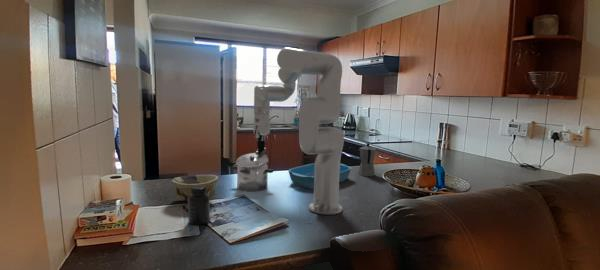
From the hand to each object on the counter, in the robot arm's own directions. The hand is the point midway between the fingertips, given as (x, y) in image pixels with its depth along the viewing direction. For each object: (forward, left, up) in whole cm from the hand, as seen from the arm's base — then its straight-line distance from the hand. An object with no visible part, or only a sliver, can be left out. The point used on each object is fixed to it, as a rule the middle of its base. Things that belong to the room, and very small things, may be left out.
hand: (261, 148), depth 160 cm
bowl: (-37, +12, -17) cm, 42 cm away
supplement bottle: (-55, -2, -17) cm, 57 cm away
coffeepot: (+37, -48, -17) cm, 63 cm away
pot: (-10, 0, -17) cm, 19 cm away
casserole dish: (+13, -27, -17) cm, 35 cm away
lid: (-7, 0, -4) cm, 8 cm away
